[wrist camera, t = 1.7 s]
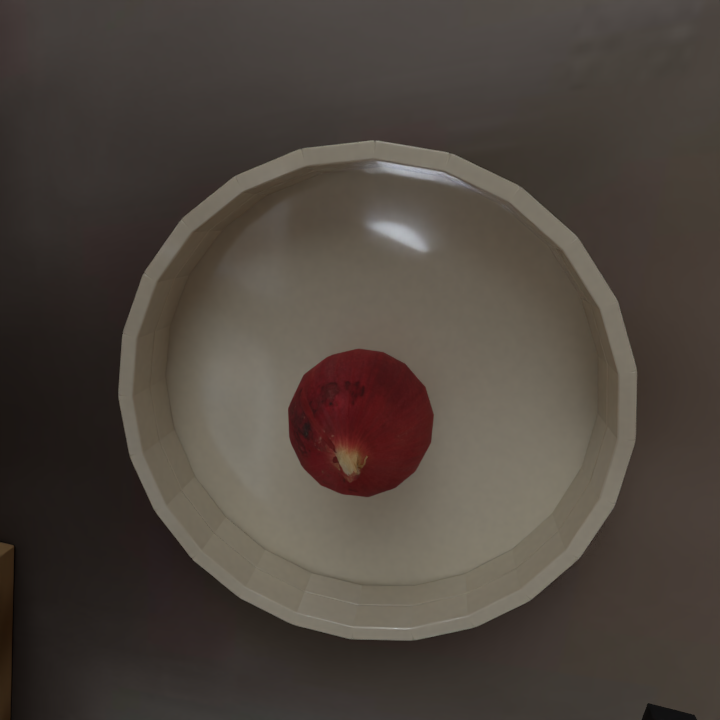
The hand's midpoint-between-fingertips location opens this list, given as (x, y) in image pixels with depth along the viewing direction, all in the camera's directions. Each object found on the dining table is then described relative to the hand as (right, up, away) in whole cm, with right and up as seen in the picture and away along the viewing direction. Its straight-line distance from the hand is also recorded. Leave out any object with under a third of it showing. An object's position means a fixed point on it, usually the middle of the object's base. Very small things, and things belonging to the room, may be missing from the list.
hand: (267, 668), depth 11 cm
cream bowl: (+2, +4, +17) cm, 17 cm away
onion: (+2, +4, +17) cm, 17 cm away
